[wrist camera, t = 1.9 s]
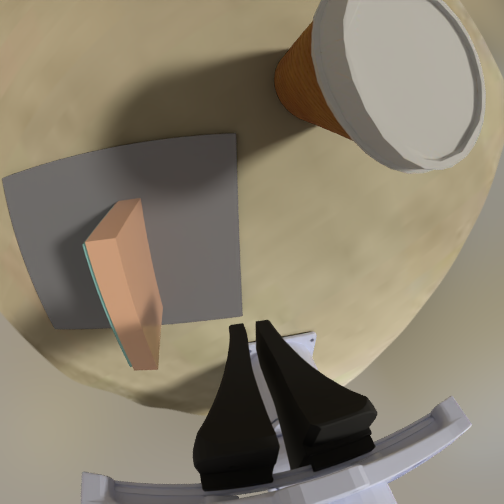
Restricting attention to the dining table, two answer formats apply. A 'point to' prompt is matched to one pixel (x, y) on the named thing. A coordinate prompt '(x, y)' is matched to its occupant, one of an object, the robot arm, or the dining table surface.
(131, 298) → the terracotta tile
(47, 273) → the rubber mat
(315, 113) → the disposable coffee cup
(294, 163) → the dining table surface
